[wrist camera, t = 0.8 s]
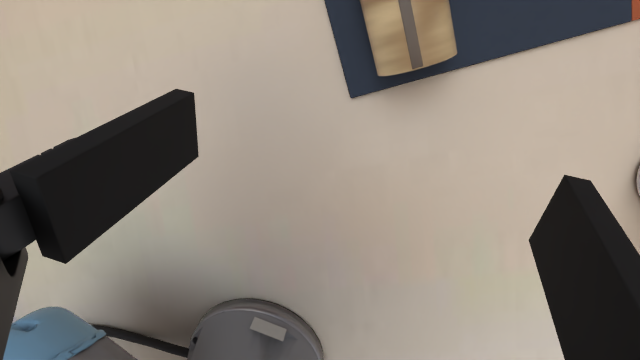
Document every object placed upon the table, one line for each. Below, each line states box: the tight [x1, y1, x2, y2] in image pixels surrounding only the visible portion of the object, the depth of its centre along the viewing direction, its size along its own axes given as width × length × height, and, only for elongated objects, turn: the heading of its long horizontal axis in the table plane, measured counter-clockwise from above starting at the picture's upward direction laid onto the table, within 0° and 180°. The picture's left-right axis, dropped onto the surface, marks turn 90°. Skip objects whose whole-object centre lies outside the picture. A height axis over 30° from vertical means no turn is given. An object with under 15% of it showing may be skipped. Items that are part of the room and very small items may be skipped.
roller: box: [360, 0, 457, 76], centre depth 25 cm, size 6×8×6 cm
